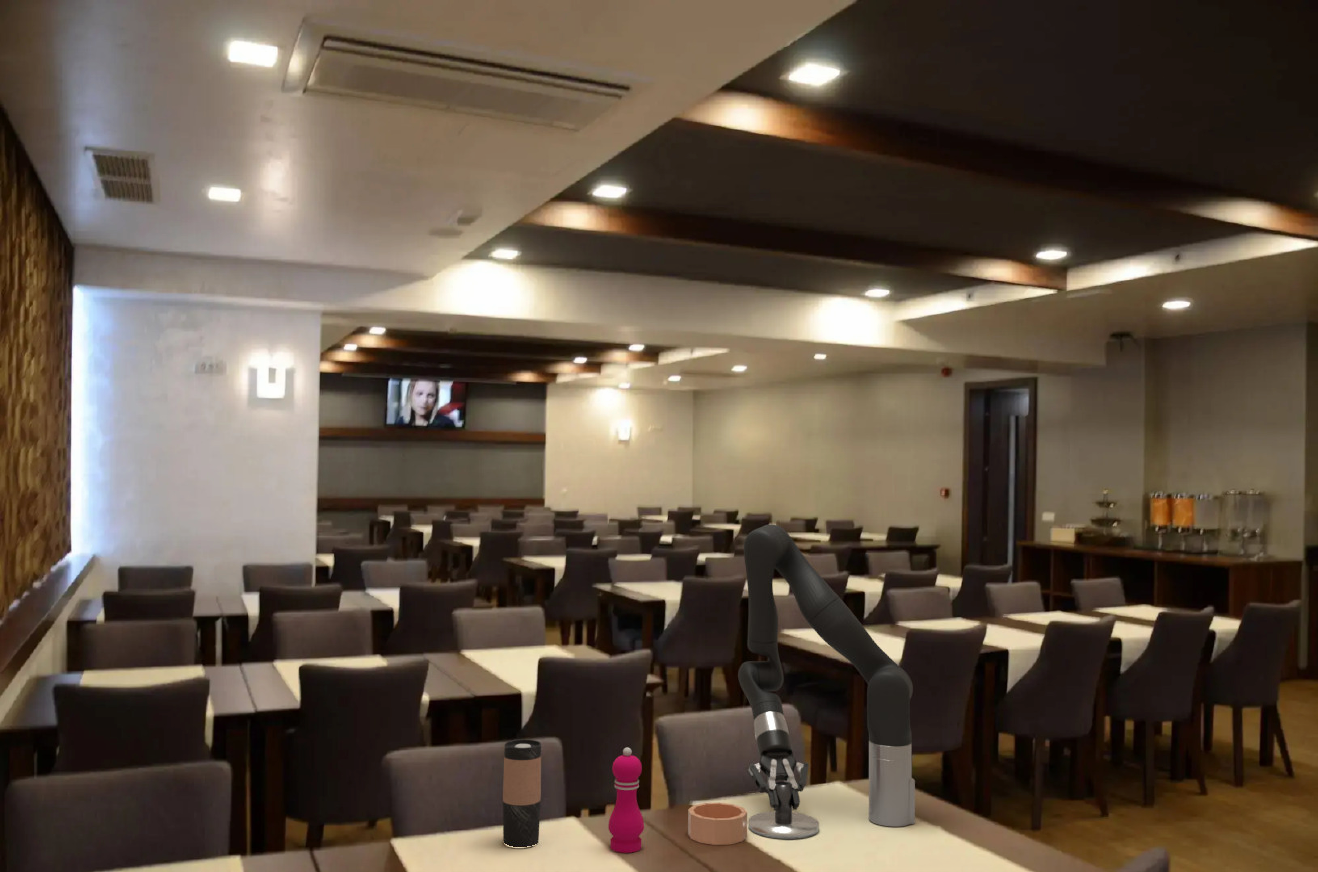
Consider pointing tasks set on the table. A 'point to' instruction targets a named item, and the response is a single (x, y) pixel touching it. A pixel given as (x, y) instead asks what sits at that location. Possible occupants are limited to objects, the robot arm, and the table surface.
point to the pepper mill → (626, 805)
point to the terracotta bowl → (717, 823)
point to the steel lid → (783, 818)
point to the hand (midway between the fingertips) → (786, 807)
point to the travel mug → (521, 792)
